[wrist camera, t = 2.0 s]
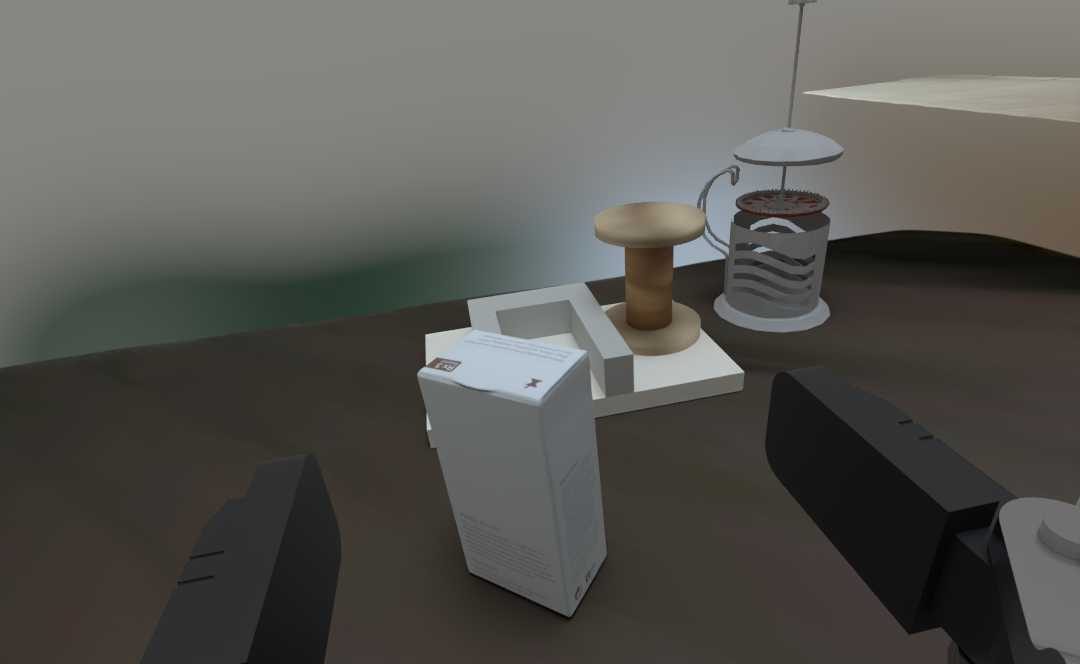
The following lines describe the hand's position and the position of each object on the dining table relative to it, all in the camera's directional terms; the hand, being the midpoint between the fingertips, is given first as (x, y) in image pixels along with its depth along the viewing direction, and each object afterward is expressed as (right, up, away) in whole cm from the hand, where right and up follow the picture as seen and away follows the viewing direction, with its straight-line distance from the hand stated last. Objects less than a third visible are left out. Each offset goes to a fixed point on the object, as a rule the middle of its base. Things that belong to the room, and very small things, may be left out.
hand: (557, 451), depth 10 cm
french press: (+20, +4, +42) cm, 47 cm away
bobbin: (+9, +2, +36) cm, 37 cm away
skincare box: (-1, -10, +19) cm, 21 cm away
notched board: (+2, -1, +35) cm, 35 cm away
